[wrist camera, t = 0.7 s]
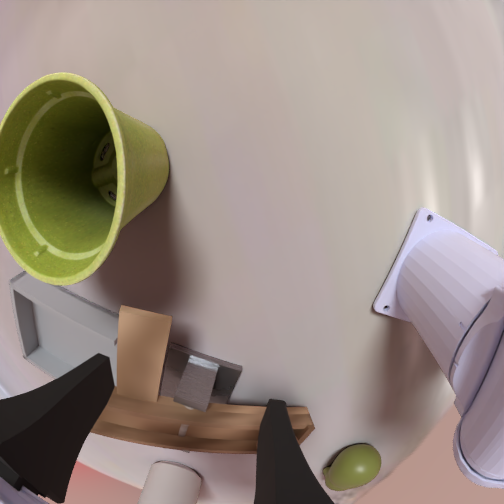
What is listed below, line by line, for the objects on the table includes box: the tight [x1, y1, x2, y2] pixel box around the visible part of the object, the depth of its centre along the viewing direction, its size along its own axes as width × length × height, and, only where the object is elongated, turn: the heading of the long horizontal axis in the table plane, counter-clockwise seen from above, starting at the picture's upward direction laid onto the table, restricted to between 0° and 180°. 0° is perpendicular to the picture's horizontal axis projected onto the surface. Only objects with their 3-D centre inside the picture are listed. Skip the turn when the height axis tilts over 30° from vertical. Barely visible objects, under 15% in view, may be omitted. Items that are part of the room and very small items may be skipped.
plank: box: [90, 305, 315, 454], centre depth 18 cm, size 18×13×2 cm
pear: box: [323, 444, 381, 491], centre depth 24 cm, size 6×5×10 cm
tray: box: [9, 271, 119, 386], centre depth 21 cm, size 12×10×3 cm
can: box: [137, 461, 202, 504], centre depth 25 cm, size 8×8×12 cm
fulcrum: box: [160, 342, 242, 453], centre depth 21 cm, size 6×9×5 cm, turn 162°
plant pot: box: [0, 73, 169, 286], centre depth 13 cm, size 9×9×9 cm
